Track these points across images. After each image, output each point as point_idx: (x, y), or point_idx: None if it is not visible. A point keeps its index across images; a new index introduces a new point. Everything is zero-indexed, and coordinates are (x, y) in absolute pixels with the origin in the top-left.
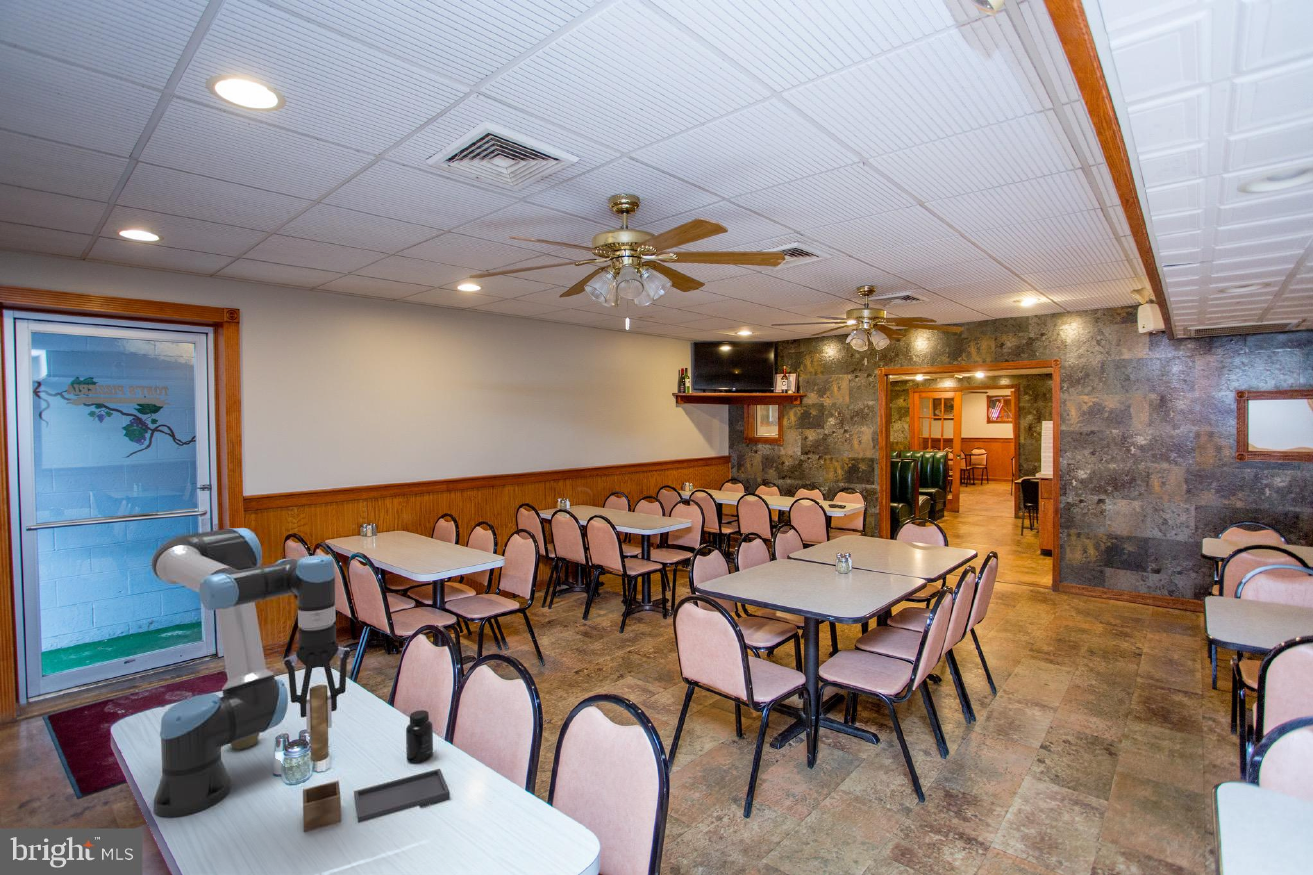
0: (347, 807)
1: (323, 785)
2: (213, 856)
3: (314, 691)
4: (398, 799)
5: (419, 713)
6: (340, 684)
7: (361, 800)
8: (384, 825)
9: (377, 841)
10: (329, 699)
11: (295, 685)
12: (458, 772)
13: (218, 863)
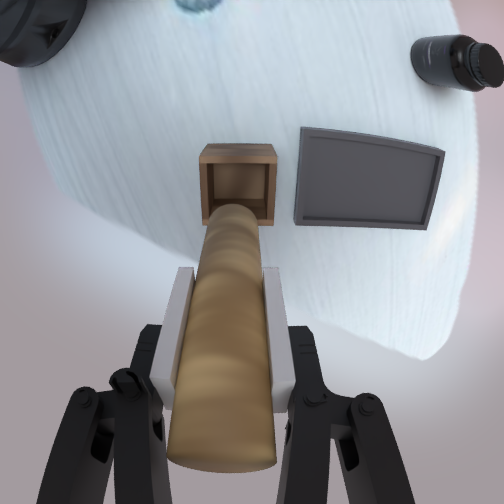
0: (285, 151)
1: (243, 162)
2: (91, 194)
3: (202, 469)
4: (366, 192)
5: (493, 63)
6: (343, 467)
7: (311, 156)
8: (327, 239)
9: (309, 270)
10: (278, 411)
11: (103, 494)
12: (457, 159)
13: (102, 214)
